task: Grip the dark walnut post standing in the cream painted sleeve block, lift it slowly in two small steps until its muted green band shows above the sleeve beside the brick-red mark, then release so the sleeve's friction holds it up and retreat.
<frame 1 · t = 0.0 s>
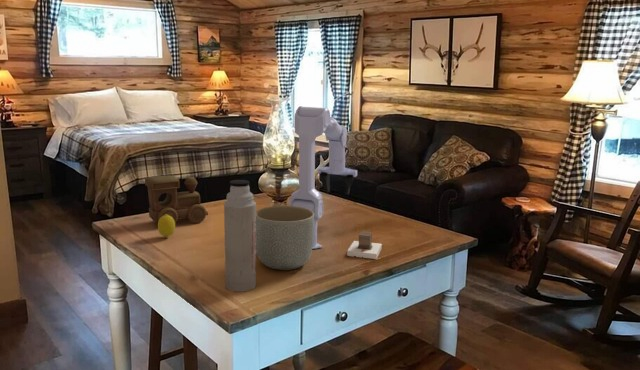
hand: (337, 192, 202), 11 cm above the table, tool pointing down, fingers open, 7 cm apart
lemon: (167, 238, 180), on the table
planter: (284, 264, 160), on the table
thermos bottle: (240, 286, 144), on the table
sleeve block: (364, 252, 171), on the table
post: (365, 242, 171), point 3 cm above the table, slide at 0.0 cm
wooden toy train: (177, 222, 198), on the table
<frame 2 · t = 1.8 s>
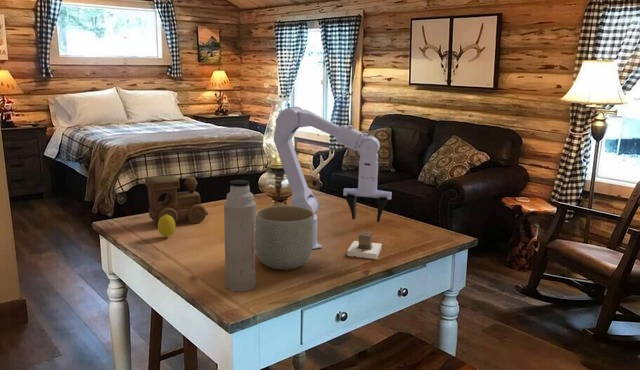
hand: (366, 219, 169), 10 cm above the table, tool pointing down, fingers open, 7 cm apart
nothing on the table moved.
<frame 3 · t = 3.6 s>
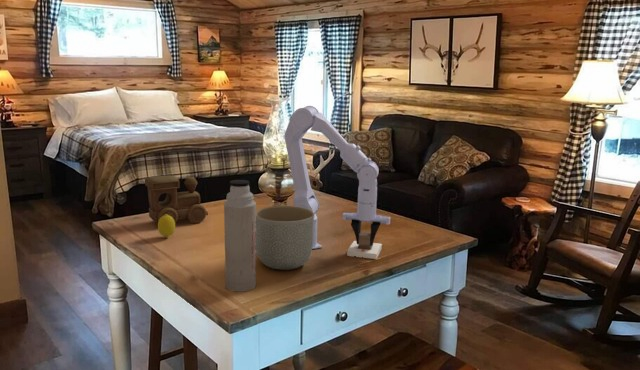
hand: (365, 244, 171), 3 cm above the table, tool pointing down, fingers closed on post, 3 cm apart
post: (365, 242, 171), point 3 cm above the table, slide at 0.0 cm, touching gripper
everything else where it was.
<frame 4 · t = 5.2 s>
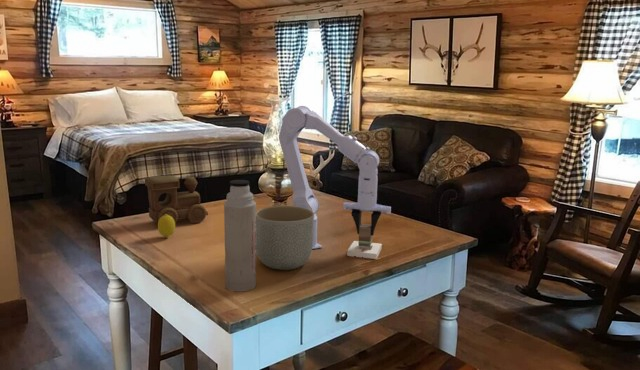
hand: (365, 233, 170), 6 cm above the table, tool pointing down, fingers closed on post, 3 cm apart
post: (365, 235, 170), point 6 cm above the table, slide at 2.6 cm, touching gripper
everything else where it was.
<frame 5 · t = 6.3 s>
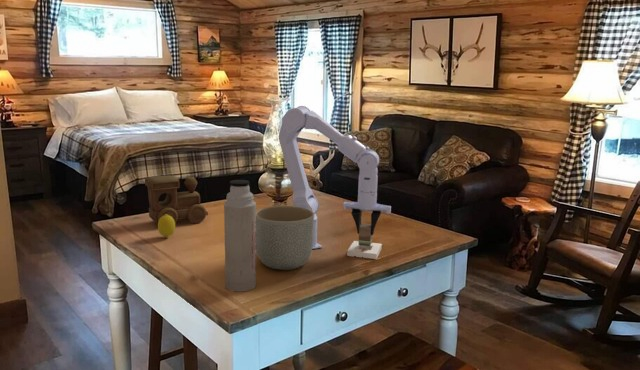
hand: (365, 233, 170), 6 cm above the table, tool pointing down, fingers closed on post, 3 cm apart
post: (365, 234, 170), point 6 cm above the table, slide at 2.7 cm, touching gripper
everything else where it was.
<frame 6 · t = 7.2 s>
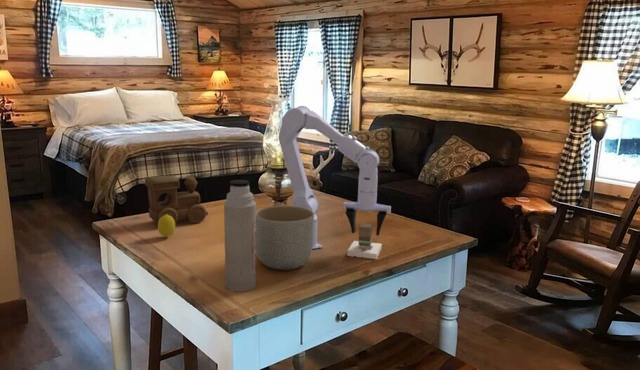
hand: (365, 233, 170), 6 cm above the table, tool pointing down, fingers open, 7 cm apart
post: (365, 234, 170), point 6 cm above the table, slide at 2.7 cm
everything else where it was.
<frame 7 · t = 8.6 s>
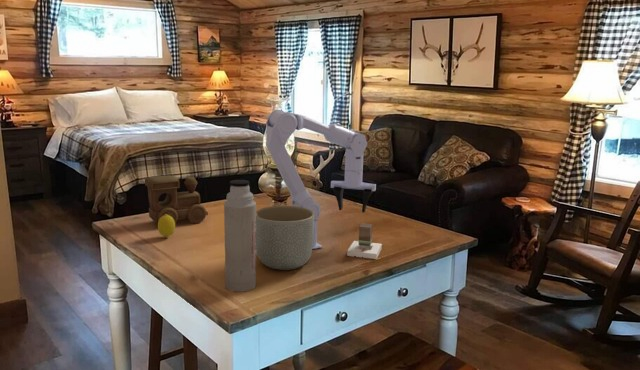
hand: (352, 210, 179), 10 cm above the table, tool pointing down, fingers open, 7 cm apart
nothing on the table moved.
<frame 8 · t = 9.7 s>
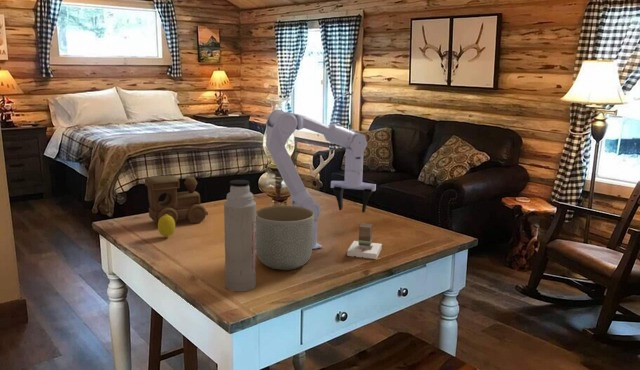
hand: (352, 210, 179), 10 cm above the table, tool pointing down, fingers open, 7 cm apart
nothing on the table moved.
at the end: post slide at 2.7 cm; the gripper is holding nothing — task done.
